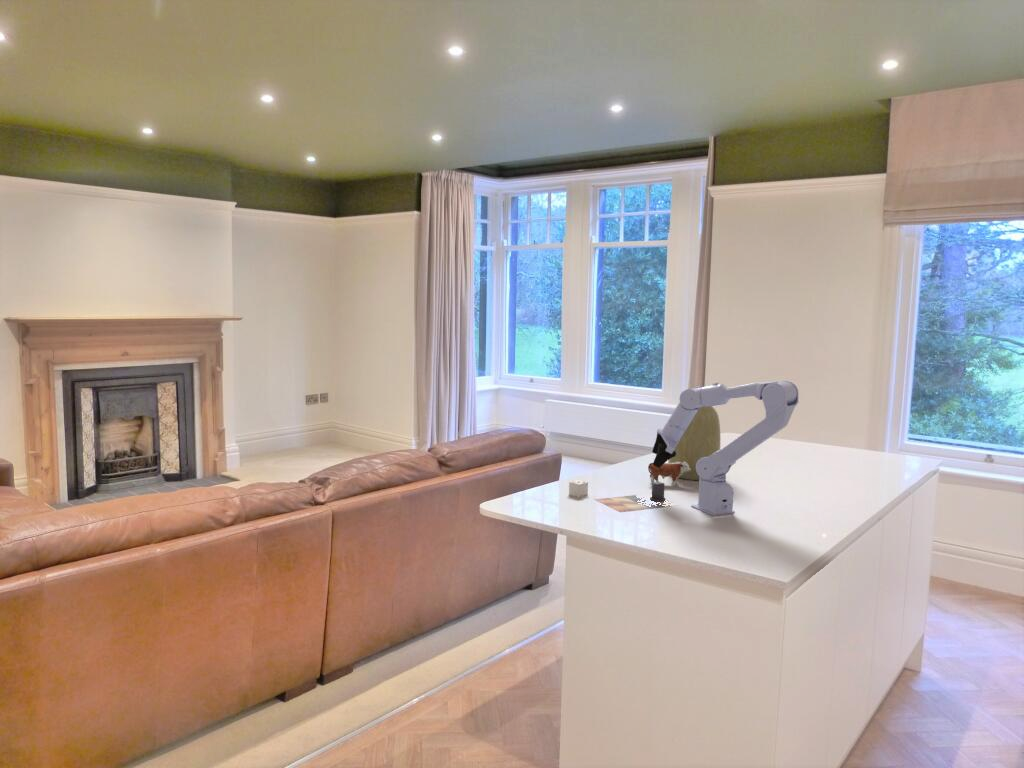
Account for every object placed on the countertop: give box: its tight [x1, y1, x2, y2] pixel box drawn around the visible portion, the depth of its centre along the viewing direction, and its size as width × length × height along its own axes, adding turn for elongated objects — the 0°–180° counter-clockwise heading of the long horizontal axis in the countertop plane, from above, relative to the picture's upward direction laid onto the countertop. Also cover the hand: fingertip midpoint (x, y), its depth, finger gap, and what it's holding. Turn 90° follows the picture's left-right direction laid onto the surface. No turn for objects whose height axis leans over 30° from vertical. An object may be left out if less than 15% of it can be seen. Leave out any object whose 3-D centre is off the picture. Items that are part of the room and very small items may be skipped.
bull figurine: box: [647, 461, 691, 487], centre depth 228 cm, size 4×13×8 cm, turn 78°
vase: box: [667, 406, 721, 481], centre depth 241 cm, size 17×17×27 cm
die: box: [568, 479, 589, 498], centre depth 214 cm, size 4×4×4 cm
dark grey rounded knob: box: [650, 481, 666, 502], centre depth 209 cm, size 4×4×5 cm
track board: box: [594, 494, 673, 513], centre depth 206 cm, size 14×20×1 cm
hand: (655, 459), depth 212 cm, fingers open, 7 cm apart
